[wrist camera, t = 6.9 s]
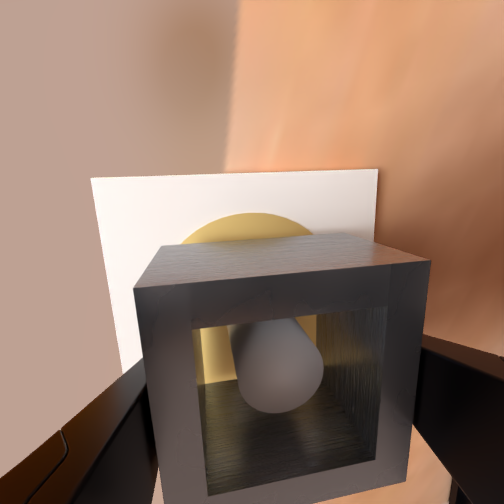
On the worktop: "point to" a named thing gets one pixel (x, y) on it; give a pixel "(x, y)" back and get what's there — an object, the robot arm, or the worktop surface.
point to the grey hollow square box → (327, 342)
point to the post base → (229, 229)
